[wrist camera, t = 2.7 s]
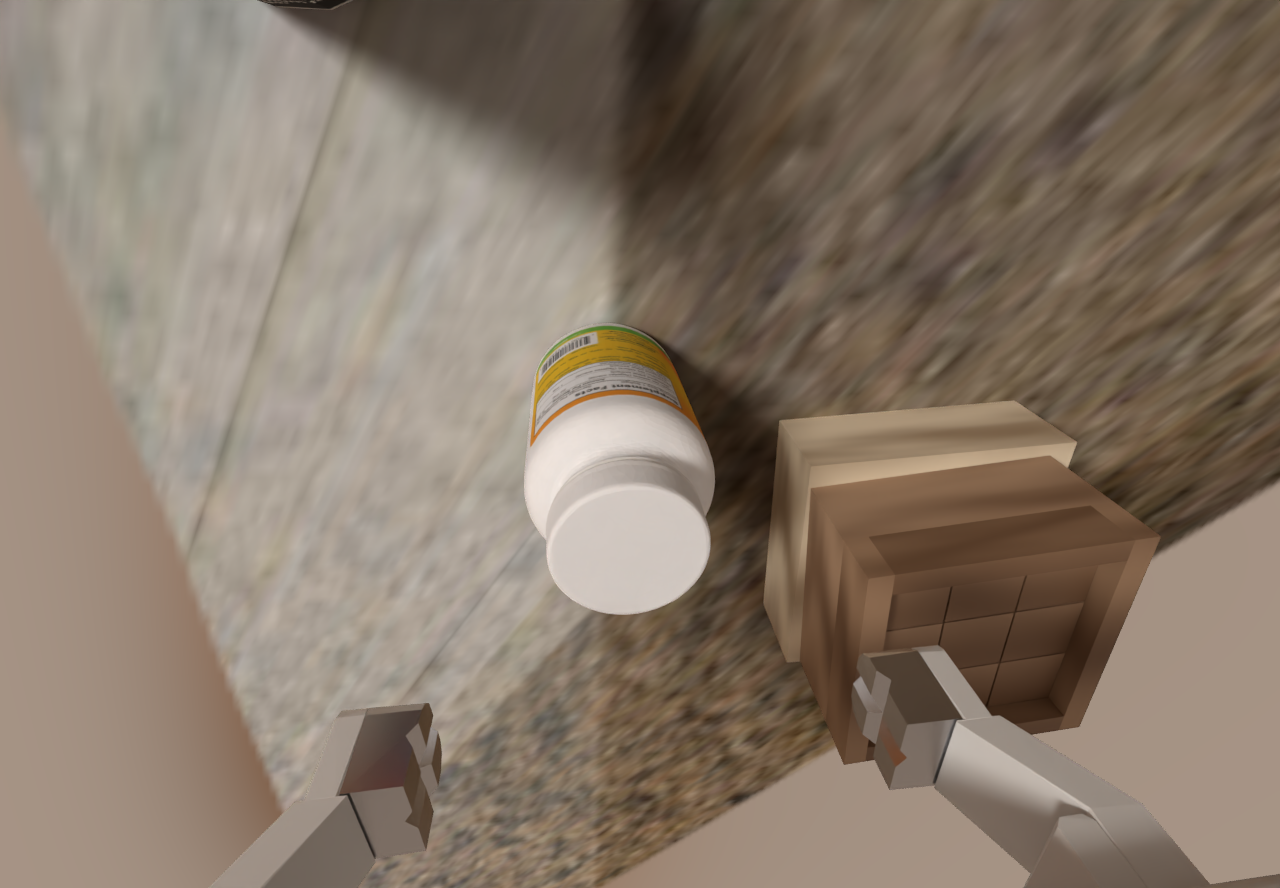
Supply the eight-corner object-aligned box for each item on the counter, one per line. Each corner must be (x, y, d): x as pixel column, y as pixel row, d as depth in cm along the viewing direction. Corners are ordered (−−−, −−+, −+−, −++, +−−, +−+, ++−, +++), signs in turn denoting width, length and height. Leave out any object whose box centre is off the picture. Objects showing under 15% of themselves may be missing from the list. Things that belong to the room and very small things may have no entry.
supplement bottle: (653, 461, 25) (700, 647, 16) (520, 436, 24) (498, 624, 15) (694, 337, 22) (775, 482, 14) (549, 302, 21) (541, 438, 13)
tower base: (776, 415, 25) (810, 466, 21) (1007, 396, 26) (1077, 442, 22) (760, 597, 30) (786, 662, 26) (955, 576, 31) (1005, 637, 27)
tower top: (810, 487, 22) (868, 579, 18) (1049, 455, 22) (1161, 536, 18) (799, 660, 26) (844, 764, 22) (999, 629, 27) (1079, 726, 23)
